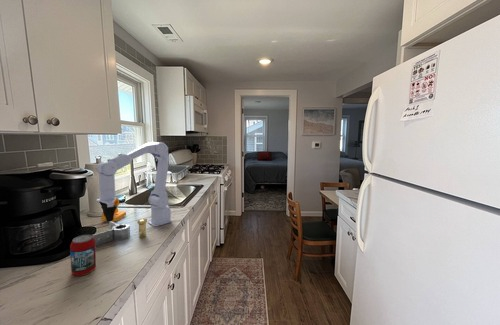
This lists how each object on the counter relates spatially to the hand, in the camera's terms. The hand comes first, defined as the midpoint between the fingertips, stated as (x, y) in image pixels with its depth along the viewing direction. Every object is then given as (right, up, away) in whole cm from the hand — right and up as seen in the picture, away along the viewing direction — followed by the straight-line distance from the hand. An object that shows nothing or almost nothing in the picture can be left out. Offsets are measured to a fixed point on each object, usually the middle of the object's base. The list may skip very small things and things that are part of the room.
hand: (108, 218), depth 95 cm
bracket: (-13, -7, +24) cm, 28 cm away
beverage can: (+6, -13, -22) cm, 26 cm away
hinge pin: (+13, -10, +5) cm, 17 cm away
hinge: (-2, -9, +2) cm, 10 cm away
